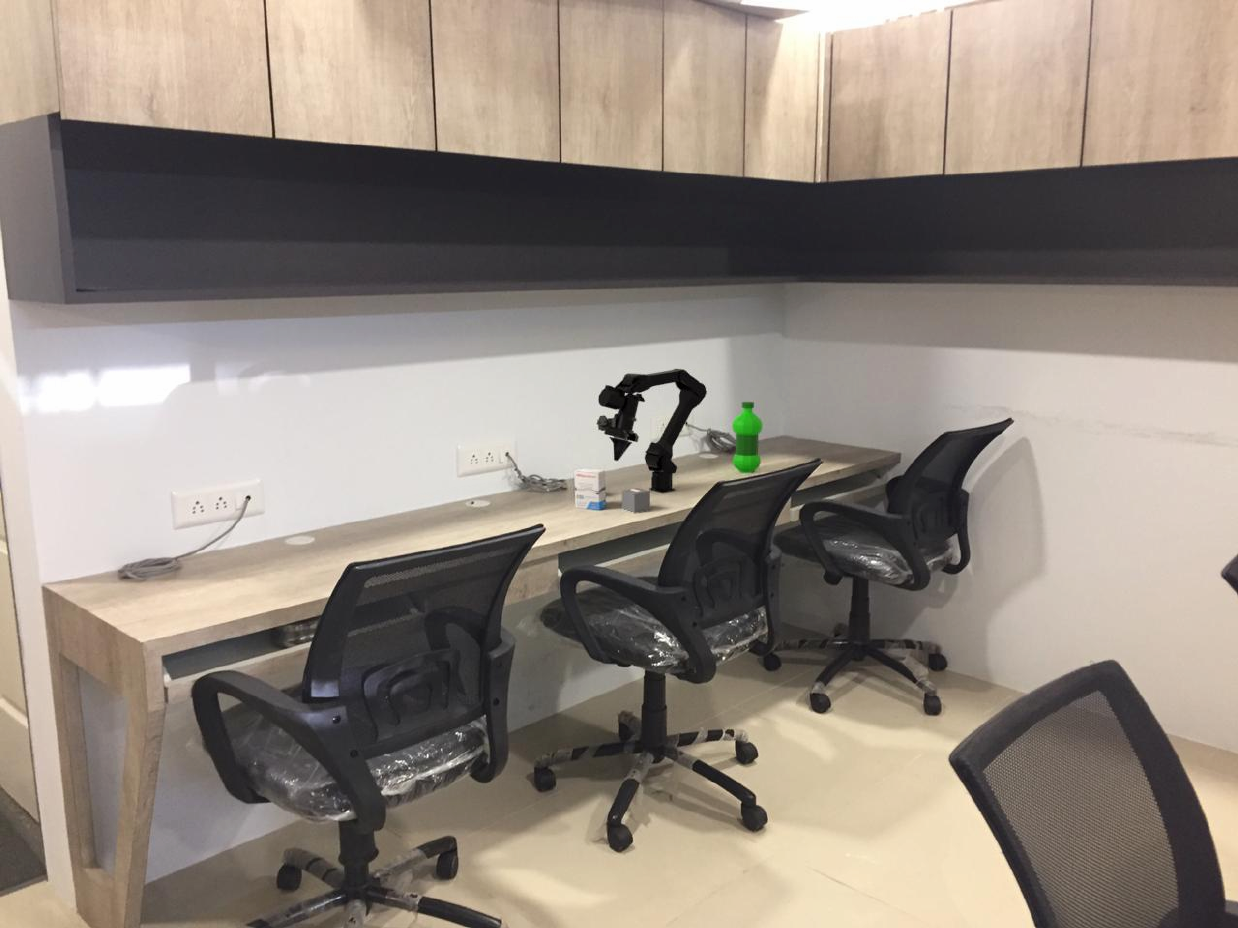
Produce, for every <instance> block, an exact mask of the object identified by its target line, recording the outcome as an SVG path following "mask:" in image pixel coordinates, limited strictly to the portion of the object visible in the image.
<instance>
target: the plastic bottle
mask: <svg viewBox="0 0 1238 928" xmlns="http://www.w3.org/2000/svg"><path fill="white" fill-rule="evenodd" d="M741 408H742V409H743V410H742V412H741V413H740V414H738V416H736V417H735V418H734V420H733V422H732V430H733V432H734V433H735V454H734V455H733V458H732V465H733V466H734V467H735V468H736V469H737V471H739V472H740V473H743V474H749V473H750V472H751V473H754V472H755V471H756V470H757V469H758V468H759V467H760V465H761V457H760V455H759V434H760V433H761V432H762V431H763V422H762V419H761V418H759V416H757V414H755V413H754V412H753V409H754V408H755V401H741Z"/></svg>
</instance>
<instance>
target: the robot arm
mask: <svg viewBox="0 0 1238 928" xmlns="http://www.w3.org/2000/svg"><path fill="white" fill-rule="evenodd" d="M672 383H673V384H675V387H676V388H677V389H678V390H679V393H678V404H677V406H676V408H675V410H674V412H673V414H672V416H671V418H670V419H669V421H668V423H667V425H666V427H665V429H664V431H663V433H662V435H661V436H660V438H659V440H657V442H653V441H651V442H650V443H649V445H648V448H647V449H646V450H645V453H644V454H645V456H644V461H645V464H646V465H647V468H648V471H651V477H650V480H651V481H650V484H651V485H650V487H649V488H648V491H653V492H658V493H661V494H662V493H667V492H673V491H676V488H674V487H673V480H674V479H673V478H674V477H673V475H674V474H676V472H677V469H678V466H677V464H676V463H675V462H673V460H672V459H673V456H674V449H673V448H674V445H675V444H676V441H677V440H678V437H679V436H680V435H681V433H682V430H683V429H684V426H685V424H686V422H687V420H688V419H689V417H690V415H691V413H692V411H693V410H694V409H695V408H696V407H697V406H699V405H701V403H702V402H703V400H704V399H705V398H706V396H707V393H708V390H707V387H706V385H705V384H704V383H702V382H700V381H699V380H698V379H697V378H695V377H694V376H693V375H691V374H690V373H689V372H688V371H686V370H685V369H682V368H674V369H669V370H665V371H659V372H658V371H657V372H653V373H647V374H645V373H632V372H630V373H626V374H624V375H623V378H622V380H620V382H618V384H616V385H615V387H614V386H613V385H609V384H606V385H605V386H604V388H603V389H602V390H601V391H600V393H599V395H598V404H599V405H600V406H601V407H605V408H608V409H611V410H615V411H618V412H617V413H615V414H614V416H613V417H612V418H611V417H607V415H605V414H603V415H599V418H598V419H597V420H596V425H597V429H598V431H601V432H604V433H603V435H606V436H609V437H608V438H609V439H610V440H611V442H612V443H613V460H614V461H615V462H618V461H619V460H620V459H621V457H622V456H623V455H624V454H625V452H626V451H627V450H628V449H629V447H630V446H631V445H632V444H633V442H635V443H638V442H639V438H640V436H639V435H638V433H636V432H634V430H633V429H634V424H635V422H637V421H638V418H637V417H636V416H637V412H638V407H639V403H640V402H641V403H645V402H646V400H645V398H644V397H643V395H642V393H643V392H646V391H648V390H650V389H651V388H653V387H655V386H656V387H657V386H661V385H666V384H667V385H668V384H672ZM635 393H636V394H635Z"/></svg>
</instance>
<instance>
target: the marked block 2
mask: <svg viewBox="0 0 1238 928" xmlns="http://www.w3.org/2000/svg"><path fill="white" fill-rule="evenodd" d="M650 491H651V490H647V489H643V488H639V487H634V488H630V489H624V490H621V510H622V509H624V510H627V511H626V512H628V511H630V512H629V513H631V512H634V513H633V514H637V513H636V512H639V513H642V512H641V511H644V512H648V511H647V510H649V511H651V499H650V498H651V492H650ZM624 510H623V511H624Z"/></svg>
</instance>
